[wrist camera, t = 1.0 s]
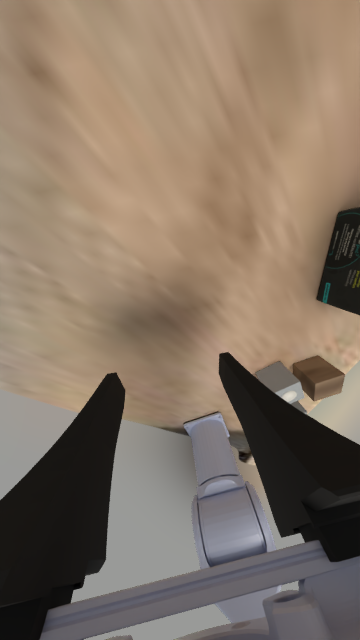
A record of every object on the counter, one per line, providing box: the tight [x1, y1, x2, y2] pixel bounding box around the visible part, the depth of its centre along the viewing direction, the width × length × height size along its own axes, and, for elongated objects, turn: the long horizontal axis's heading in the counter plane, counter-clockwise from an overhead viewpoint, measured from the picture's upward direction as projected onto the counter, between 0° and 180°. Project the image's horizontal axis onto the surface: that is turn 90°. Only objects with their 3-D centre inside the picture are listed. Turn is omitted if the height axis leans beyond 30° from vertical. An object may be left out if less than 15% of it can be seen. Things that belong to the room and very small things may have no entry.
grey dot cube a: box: [255, 361, 304, 404], centre depth 26 cm, size 4×4×5 cm
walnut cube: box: [293, 356, 345, 401], centre depth 26 cm, size 4×4×4 cm
